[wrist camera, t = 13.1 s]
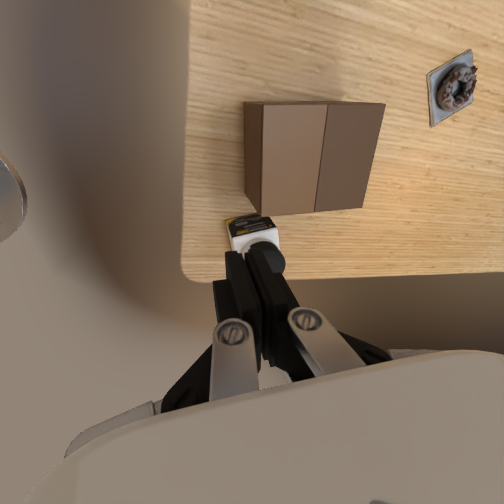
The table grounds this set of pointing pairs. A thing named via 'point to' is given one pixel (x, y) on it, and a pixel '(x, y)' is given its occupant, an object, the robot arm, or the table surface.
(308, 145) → the front flap
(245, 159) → the carton
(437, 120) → the donut
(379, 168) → the table surface
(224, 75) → the table surface
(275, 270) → the medicine bottle
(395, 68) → the table surface
